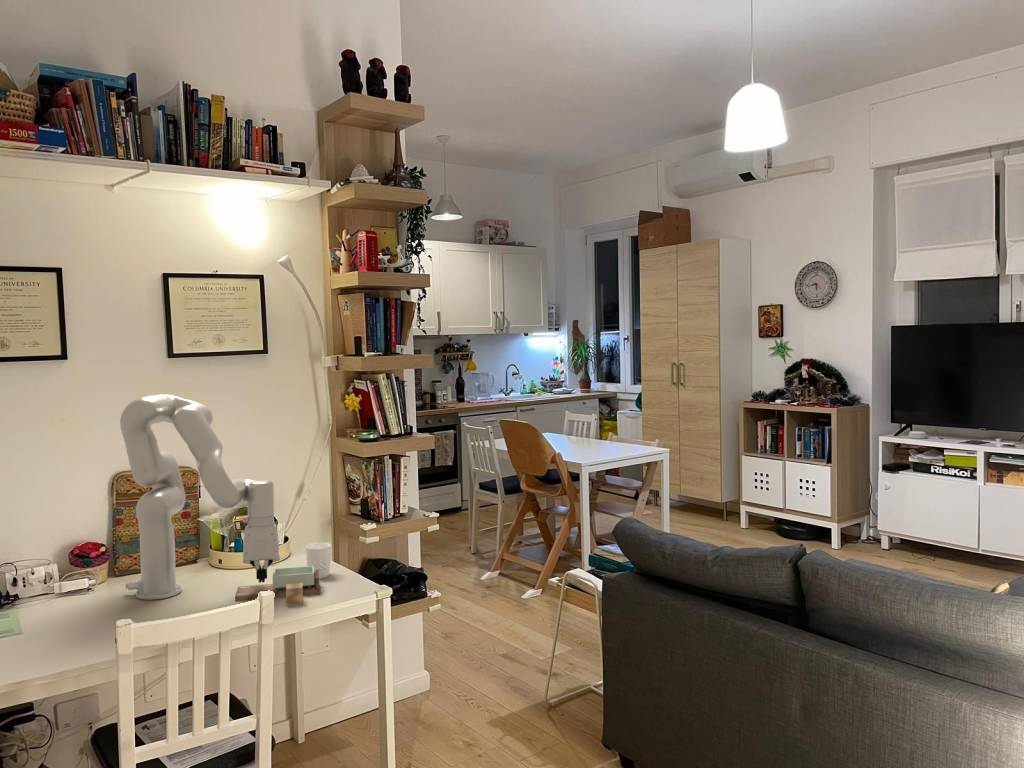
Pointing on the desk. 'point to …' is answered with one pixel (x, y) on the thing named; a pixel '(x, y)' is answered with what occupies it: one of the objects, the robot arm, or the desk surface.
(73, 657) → the desk surface
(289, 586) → the block
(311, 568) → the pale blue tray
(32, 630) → the desk surface
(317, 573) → the rail
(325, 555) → the white cup
